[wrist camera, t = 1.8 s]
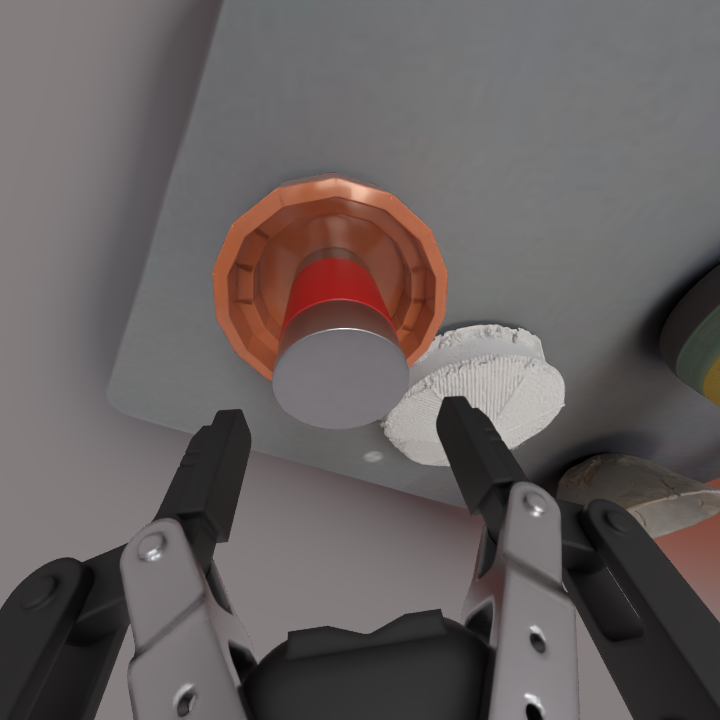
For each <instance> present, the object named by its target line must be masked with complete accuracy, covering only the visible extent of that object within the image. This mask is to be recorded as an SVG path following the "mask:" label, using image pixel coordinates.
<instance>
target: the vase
mask: <svg viewBox="0 0 720 720" xmlns="http://www.w3.org/2000/svg"><path fill="white" fill-rule="evenodd" d="M659 347H660V352H661V355H662V357H663V359H664V361H665V363H666V364H667V365H668V367H669V368H670V369H671V371H672V372H673V373H674V374H675V375H676V376H677V377H678V378H679V379H681V380H682V381H683V382H684V383H686V384H687V385H688V386H690V387H691V388H693V389H694V390H695V391H697V392H698V393H700V394H701V395H703V396H704V397H706V398H707V399H709V400H710V401H712V402H713V403H715V404H716V405H718V406H720V264H719V265H718V266H717V267H716V268H714V269H713V270H712V271H710V272H709V273H708V274H707V275H706V276H704V277H703V278H702V279H701V280H700V281H699V282H698V283H697V284H695V285H694V286H693V287H692V288H691V289H690V290H689V291H688V292H687V293H686V294H685V296H684V297H683V298H682V299H681V300H680V301H679V303H678V304H677V305H676V306H675V308H674V309H673V310H672V312H671V313H670V315H669V317H668V318H667V320H666V322H665V324H664V327H663V329H662V332H661V335H660V343H659Z"/></svg>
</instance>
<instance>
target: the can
mask: <svg viewBox="0 0 720 720" xmlns="http://www.w3.org/2000/svg"><path fill="white" fill-rule="evenodd" d="M409 376H410V373H409V366H408V363H407V360H406V358H405V355H404V353H403V350H402V348H401V345H400V343H399V340H398V337H397V334H396V330H395V328H394V325H393V323H392V321H391V318H390V316H389V313H388V311H387V308H386V306H385V304H384V301H383V299H382V296H381V294H380V291H379V289H378V287H377V284H376V282H375V280H374V279H373V276H372V274H371V272H370V269H369V267H368V266H367V265H366V263H365V262H364V261H363V260H362V259H361V258H360V257H359V256H358V255H356V254H355V253H353V252H351V251H349V250H346V249H343V248H335V247H330V248H323V249H320V250H317V251H315V252H313V253H311V254H310V255H308V256H307V257H306V258H305V259H304V260H303V261H302V262H301V263H300V265H299V266H298V268H297V270H296V273H295V276H294V280H293V284H292V287H291V290H290V294H289V299H288V303H287V307H286V312H285V316H284V320H283V325H282V329H281V334H280V338H279V344H278V352H277V356H276V361H275V365H274V370H273V375H272V388H273V393H274V395H275V397H276V400H277V401H278V403H279V404H280V406H281V407H282V408H283V409H284V410H285V411H286V412H287V413H288V414H289V415H291V416H292V417H293V418H295V419H297V420H299V421H300V422H303V423H305V424H308V425H311V426H314V427H319V428H324V429H349V428H355V427H359V426H363V425H366V424H369V423H371V422H374V421H376V420H378V419H380V418H382V417H383V416H385V415H386V414H388V413H389V412H390V411H391V410H393V409H394V408H395V407H396V406H397V405H398V404H399V402H400V401H401V400H402V398H403V396H404V395H405V393H406V390H407V388H408V384H409Z"/></svg>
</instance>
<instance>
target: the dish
mask: <svg viewBox="0 0 720 720" xmlns="http://www.w3.org/2000/svg"><path fill="white" fill-rule="evenodd" d="M330 247H335V248H343V249H346V250H349V251H351V252H353V253H355V254H356V255H358V256H359V257H360V258H361V259H362V260H363V261H364V262H365V263H366V265H367V266H368V267H369V269H370V272H371V274H372V276H373V279H374V280H375V282H376V284H377V287H378V289H379V291H380V294H381V296H382V299H383V301H384V304H385V306H386V308H387V311H388V313H389V316H390V318H391V321H392V323H393V325H394V328H395V330H396V334H397V337H398V340H399V343H400V345H401V348H402V350H403V353H404V355H405V358H406V360H407V363H408V366H409V368H410V367H411V366H412V365H413V364H414V363H415V362H416V361H417V360H418V359H419V358H420V357H421V356H422V355H423V354H424V353H425V352H426V351H427V350H428V349H429V347H430V345H431V343H432V341H433V339H434V337H435V335H436V333H437V331H438V329H439V327H440V325H441V323H442V321H443V319H444V317H445V311H446V296H447V281H448V272H447V269H446V267H445V264H444V261H443V259H442V256H441V254H440V251H439V248H438V246H437V243H436V241H435V238H434V235H433V233H432V231H431V229H430V228H429V227H428V226H427V225H426V224H424V223H423V222H422V221H421V220H420V219H419V218H418V217H417V216H416V215H415V214H414V213H413V212H412V211H410V210H409V209H408V208H407V207H406V206H405V205H404V204H403V203H402V202H401V201H400V200H399V199H398V198H396V197H395V196H394V195H393V194H391V193H390V192H388V191H386V190H385V189H383V188H381V187H380V186H378V185H375V184H372V183H369V182H365V181H362V180H358V179H355V178H352V177H348V176H345V175H342V174H338V173H335V172H333V173H332V172H330V173H325V174H319V175H314V176H309V177H303V178H298V179H293V180H288V181H285V182H284V183H282V184H281V185H280V186H278V187H277V188H276V189H275V190H273V191H272V192H271V193H270V194H268V195H267V196H266V197H265V198H263V199H262V200H261V201H260V202H258V203H257V204H256V205H255V206H253V207H252V208H251V209H250V210H248V211H247V212H246V213H245V214H243V215H242V216H241V217H240V218H238V219H237V220H236V221H235V222H234V223H232V225H231V227H230V229H229V231H228V234H227V236H226V239H225V241H224V243H223V246H222V248H221V251H220V253H219V256H218V258H217V260H216V263H215V265H214V268H213V272H212V277H213V289H214V300H215V312H216V319H217V321H218V322H219V324H220V326H221V328H222V329H223V331H224V333H225V335H226V337H227V338H228V340H229V342H230V344H231V345H232V347H233V349H234V351H235V352H236V354H237V355H238V356H240V357H241V358H242V359H243V360H244V361H246V362H247V363H248V364H249V365H251V366H252V367H253V368H254V369H255V370H257V371H258V372H259V373H260V374H261V375H263V376H264V377H265V378H266V379H267V380H270V381H272V375H273V370H274V365H275V361H276V356H277V352H278V344H279V338H280V334H281V329H282V325H283V320H284V316H285V312H286V307H287V303H288V299H289V294H290V290H291V287H292V284H293V280H294V276H295V273H296V270H297V268H298V266H299V265H300V263H301V262H302V261H303V260H304V259H305V258H306V257H307V256H308V255H310V254H311V253H313V252H315V251H317V250H320V249H323V248H330Z"/></svg>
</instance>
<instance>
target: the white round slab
mask: <svg viewBox="0 0 720 720" xmlns="http://www.w3.org/2000/svg"><path fill="white" fill-rule="evenodd" d="M409 373H410V376H409V384H408V388H407V390H406V393H405V395H404V396H403V398H402V400H401V401H400V402H399V404H398V405H397V406H396V407H395V408H394V409H393V410H391V411H390V412H389V413H388V414H386V415H385V416H383V417H382V418H380V419H379V421H382V422H381V423H379V424H380V426H381V428H382V426H383V427H384V430H385V431H383V432H384V434H385V435H386V436H387V438H390V439H389V440H390V441H391V442H392V443H393V442H394V443H393V445H395V444H396V445H395V447H396V448H397V447H399V448H397V449H399V450H400V451H401V452H402V453H404V454H405V456H406V455H407V457H408V458H410V460H413V461H415V462H418V463H421V464H427V465H430V466H431V465H433V466H434V465H439V466H440V467H441V466H442V465H443V466H444V465H446V466H447V465H448V467H449V466H450V464H449V461H448V459H447V456H446V454H445V451H444V449H443V446H442V444H441V442H440V439H439V437H438V434H437V430H436V420H437V416H438V413H439V410H440V407H441V404H442V401H443V398H444V397H447V396H465V397H466V398H467V400H468V402H469V403H470V405H471V407H472V408H479V409H480V410H481V411H482V412H483V413H484V414H486V415H487V416H488V417H489V419H490V420H491V422H492V423H493V425H494V426H495V428H496V431H498V433H499V434H500V436H501V438H502V441H504V442H505V444H506V445H507V447H508V449H511V448H514V447H516V446H518V445H519V444H521V443H522V442H524V441H526V440H527V439H529V437H531V436H534V435H535V434H537V433H539V431H540V432H541V430H543V429H545V427H547V425H549V423H551V422H552V420H553V418H554V417H556V415H558V412H559V410H561V407H563V406H565V404H563V403H564V400H563V399H564V397H565V396H564V395H565V392H564V391H565V386H564V385H565V384H564V381H563V380H562V379H563V378H562V377H561V375H560V373H559V372H558V371H557V369H555V368H554V367H552V366H550V365H548V364H547V363H546V362H545V357H544V354H543V350H542V345H541V341H540V340H539V338H537V336H535V335H533V336H532V334H530V332H529V331H525V330H524V329H522V328H521V329H520V328H518V329H517V330H516V329H510V328H508V327H504V328H503V327H502V326H500V325H498V324H496V325H491V324H489V325H477V326H471V327H465V328H460V329H457V330H456V331H447V332H446V333H444V336H442V335H441V334H440V335H438V336H435V341H432V343H431V345H430V347H429V349H428V350H427V351H426V352H425V353H424V354H423V355H422V356H421V357H420V358H419V359H418V360H417V361H416V362H415V363H414V364H413V365H412V366H411V367H410V368H409ZM381 424H382V425H381ZM535 436H536V435H535ZM525 443H526V442H525ZM522 445H524V444H522ZM520 447H521V446H520ZM517 448H518V447H517ZM514 449H515V448H514ZM514 449H513V450H514ZM446 466H445V467H446Z"/></svg>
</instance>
